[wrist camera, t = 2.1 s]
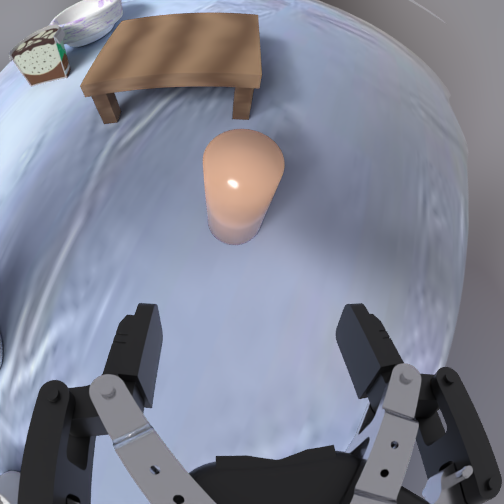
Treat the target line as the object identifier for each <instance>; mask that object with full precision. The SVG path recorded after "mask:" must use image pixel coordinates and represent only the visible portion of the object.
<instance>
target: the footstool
mask: <svg viewBox="0 0 504 504" xmlns="http://www.w3.org/2000/svg"><path fill="white" fill-rule="evenodd" d="M261 77H262V69H261V52H260V37H259V22H258V15H254V14H240V13H183V14H169V15H159V16H150V17H143V18H136V19H130V20H125V21H121V23H120V24H119V25H118V27H117V28H116V29H115V31H114V32H113V34H112V35H111V36H110V38H109V39H108V41H107V42H106V44H105V45H104V47H103V48H102V50H101V51H100V53H99V54H98V56H97V58H96V59H95V61H94V62H93V64H92V66H91V67H90V69H89V71H88V73H87V74H86V76H85V78H84V80H83V82H82V83H81V85H80V87H81V89H82V91H83V93H84V95H85V97H90V96H91V97H92V99H93V101H94V103H95V105H96V108H97V110H98V112H99V114H100V116H101V118H102V120H103V123H104V124H108V123H117V122H118V119H119V116H120V114H121V110H120V107H119V104H118V102H117V99H116V96H115V93H114V92H122V91H130V90H139V89H150V88H164V87H189V86H217V87H235V92H234V102H233V118H232V119H245V120H249V114H250V109H251V103H252V97H253V91H254V88H257V89H259V87H260V82H261Z"/></svg>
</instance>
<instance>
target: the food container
mask: <svg viewBox="0 0 504 504" xmlns="http://www.w3.org/2000/svg"><path fill="white" fill-rule="evenodd" d="M64 36H65V33H64V31H63V30H62V28H61V27H59V26H58V25H49V26H46V27H44V28H42V29H40V30H38V31H36V32H34V33H32V34H31V35H29V36H28V37H26V38H25V39H24V40H22V41H21V42H20V43H19V44H17V45H16V46H15V47H14V48H13V49H12V50H11V51H10V52H9V58H10V61H12V60H13V61H14V63H15V64H16V66H17V67H18V69H19V70H20V72H21V73H22V75H23V76H24V77H25V79H26V80H27V82H28V83H29V84H30V86H31V87H32V86H35V85H39V84H43V83H47V82H51V81H55V80H59V79H64V78H67V77H68V75H69V74H70V70H71V69H70V65H69V62H68V58H67V55H66V51H65V47H64V43H63V38H64Z"/></svg>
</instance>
